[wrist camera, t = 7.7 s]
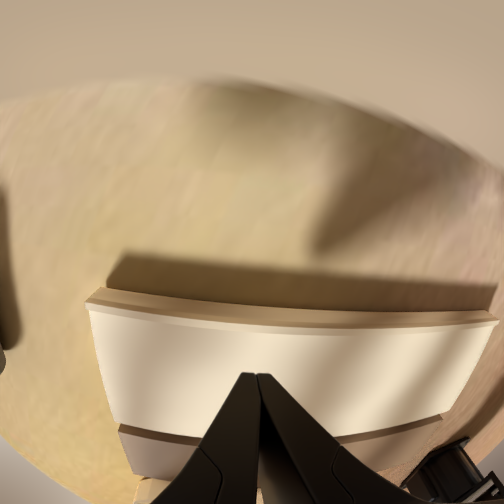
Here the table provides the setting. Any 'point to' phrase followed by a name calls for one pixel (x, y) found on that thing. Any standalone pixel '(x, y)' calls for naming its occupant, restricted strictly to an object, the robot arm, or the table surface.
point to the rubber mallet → (2, 359)
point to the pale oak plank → (279, 360)
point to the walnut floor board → (181, 448)
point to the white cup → (149, 490)
